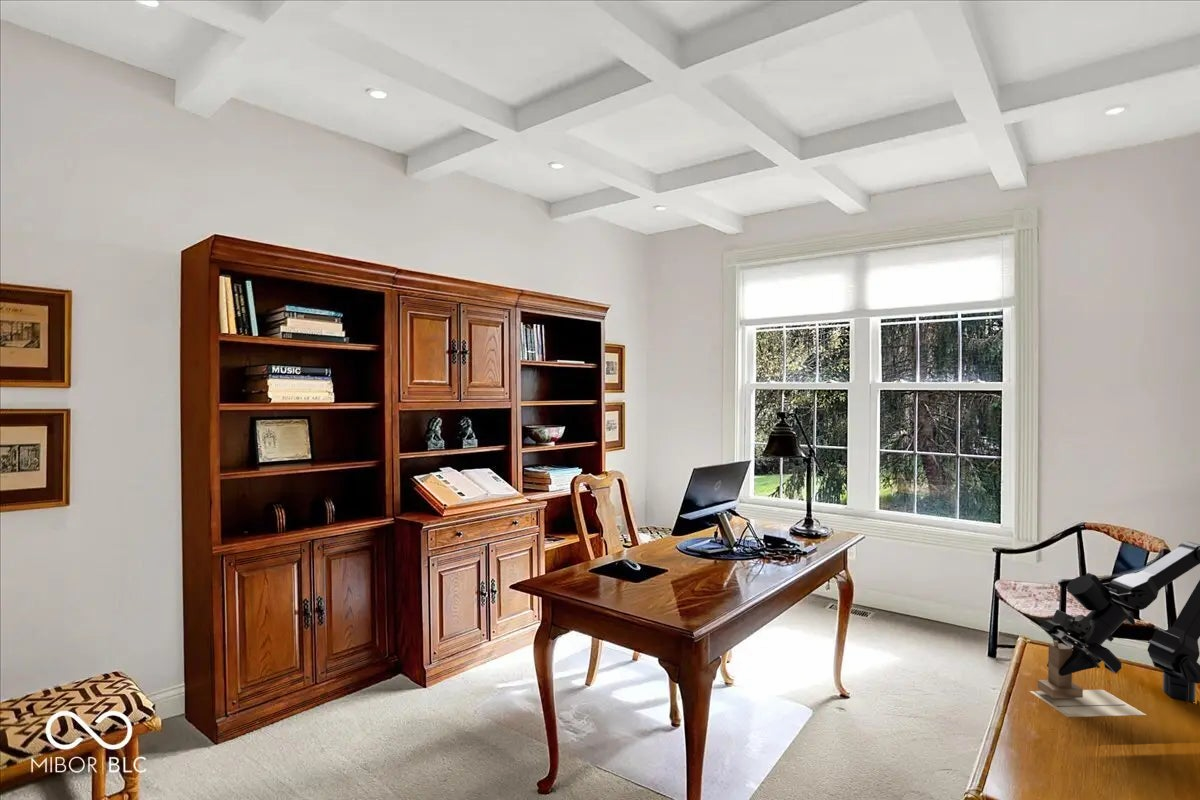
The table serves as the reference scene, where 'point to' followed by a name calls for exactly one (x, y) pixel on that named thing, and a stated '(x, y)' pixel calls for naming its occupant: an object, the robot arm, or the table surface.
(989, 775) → the table surface
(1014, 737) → the table surface
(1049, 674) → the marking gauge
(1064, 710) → the birch board
